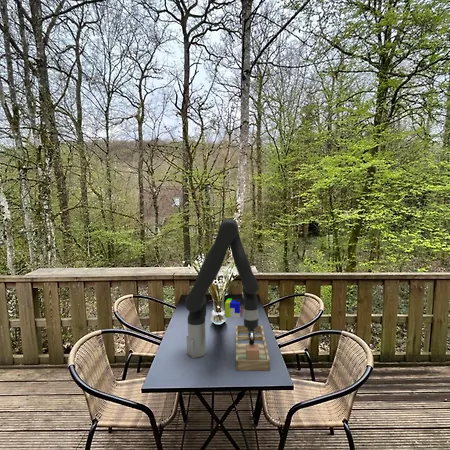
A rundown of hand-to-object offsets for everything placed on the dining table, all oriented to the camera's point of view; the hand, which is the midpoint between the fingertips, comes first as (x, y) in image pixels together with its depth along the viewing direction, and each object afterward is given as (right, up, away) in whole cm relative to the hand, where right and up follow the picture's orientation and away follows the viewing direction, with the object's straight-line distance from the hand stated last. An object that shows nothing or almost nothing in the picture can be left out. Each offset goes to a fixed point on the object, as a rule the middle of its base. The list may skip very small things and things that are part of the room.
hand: (251, 349), depth 153 cm
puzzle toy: (-8, +1, +54) cm, 55 cm away
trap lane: (0, -3, +6) cm, 7 cm away
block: (0, -2, -6) cm, 6 cm away
